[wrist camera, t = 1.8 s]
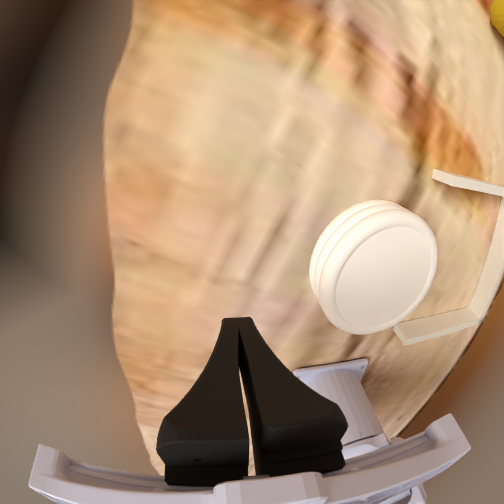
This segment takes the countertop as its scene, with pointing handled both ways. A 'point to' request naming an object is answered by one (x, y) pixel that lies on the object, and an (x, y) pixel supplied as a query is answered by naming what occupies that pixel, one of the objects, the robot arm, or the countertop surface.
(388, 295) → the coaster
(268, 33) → the countertop surface
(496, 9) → the lemon
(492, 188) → the sorting bin
